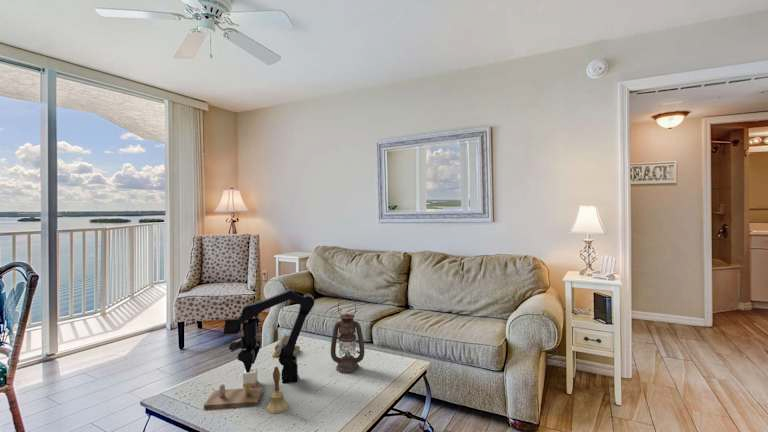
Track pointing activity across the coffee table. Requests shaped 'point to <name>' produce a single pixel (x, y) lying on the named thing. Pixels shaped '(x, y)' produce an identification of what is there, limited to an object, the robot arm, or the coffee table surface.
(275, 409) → the hand bell
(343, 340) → the lantern
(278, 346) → the ceramic model
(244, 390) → the pin board
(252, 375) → the sleeve
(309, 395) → the coffee table surface
